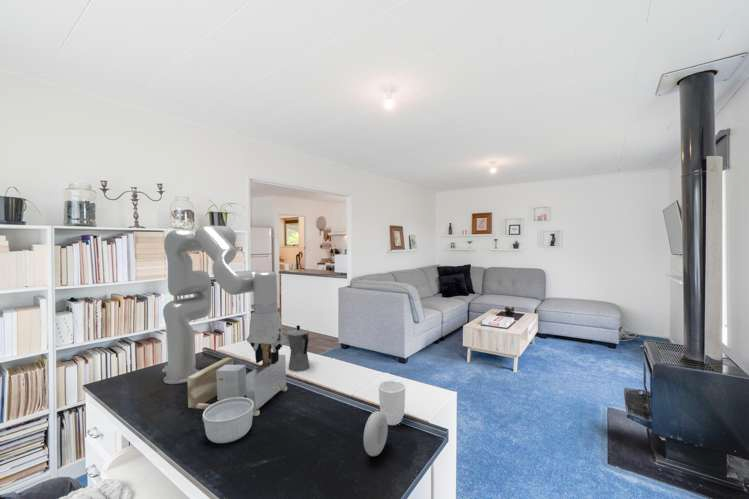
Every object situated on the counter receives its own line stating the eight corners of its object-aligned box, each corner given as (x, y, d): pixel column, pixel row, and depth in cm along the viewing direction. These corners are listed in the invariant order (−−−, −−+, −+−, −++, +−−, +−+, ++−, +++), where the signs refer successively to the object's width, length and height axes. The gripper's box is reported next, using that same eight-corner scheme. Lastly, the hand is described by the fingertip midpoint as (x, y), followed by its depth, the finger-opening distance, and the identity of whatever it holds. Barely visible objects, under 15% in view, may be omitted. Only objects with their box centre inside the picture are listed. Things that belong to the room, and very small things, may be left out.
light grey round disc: (378, 439, 87) (377, 402, 87) (390, 443, 85) (389, 405, 85) (361, 463, 78) (360, 422, 78) (374, 467, 76) (373, 425, 76)
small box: (247, 393, 115) (246, 364, 115) (239, 401, 110) (238, 370, 109) (225, 393, 116) (225, 364, 116) (216, 400, 110) (215, 370, 110)
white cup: (408, 414, 99) (407, 382, 99) (402, 428, 92) (401, 393, 92) (383, 410, 102) (383, 379, 102) (375, 424, 94) (375, 390, 94)
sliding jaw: (245, 409, 101) (243, 347, 100) (277, 384, 119) (276, 331, 118) (256, 411, 100) (255, 348, 99) (287, 385, 118) (286, 331, 117)
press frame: (188, 407, 106) (187, 377, 106) (227, 383, 124) (226, 357, 124) (256, 416, 100) (256, 384, 100) (287, 389, 118) (286, 362, 118)
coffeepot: (282, 365, 142) (281, 324, 141) (302, 360, 147) (301, 320, 147) (297, 376, 129) (296, 331, 129) (318, 370, 135) (317, 327, 135)
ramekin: (221, 453, 83) (220, 426, 83) (193, 437, 90) (192, 412, 90) (264, 427, 94) (263, 403, 94) (235, 415, 101) (235, 393, 101)
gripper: (236, 309, 107) (237, 364, 108) (282, 311, 103) (284, 368, 103) (250, 305, 114) (251, 356, 115) (294, 307, 110) (295, 360, 111)
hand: (267, 361), depth 109 cm, fingers open, 5 cm apart
